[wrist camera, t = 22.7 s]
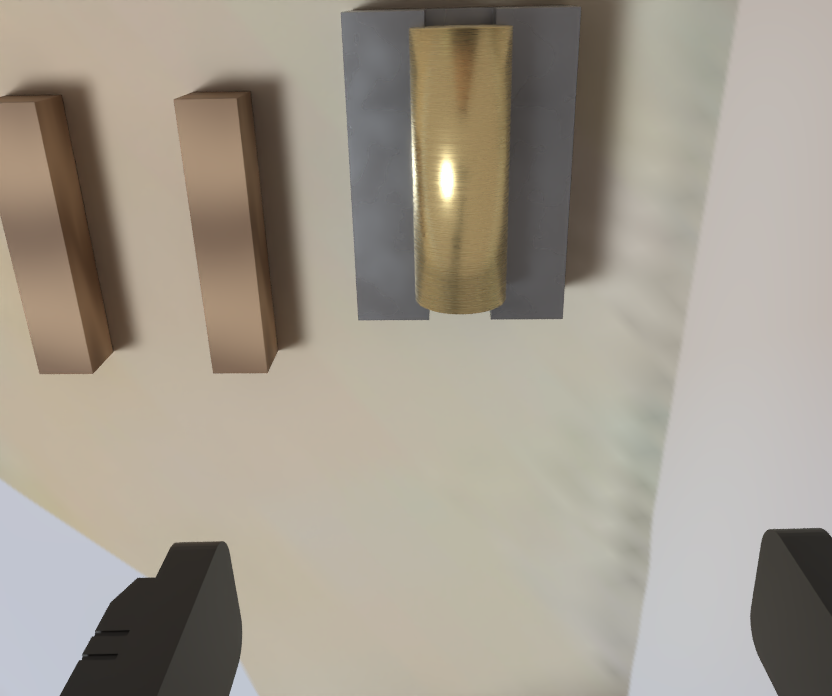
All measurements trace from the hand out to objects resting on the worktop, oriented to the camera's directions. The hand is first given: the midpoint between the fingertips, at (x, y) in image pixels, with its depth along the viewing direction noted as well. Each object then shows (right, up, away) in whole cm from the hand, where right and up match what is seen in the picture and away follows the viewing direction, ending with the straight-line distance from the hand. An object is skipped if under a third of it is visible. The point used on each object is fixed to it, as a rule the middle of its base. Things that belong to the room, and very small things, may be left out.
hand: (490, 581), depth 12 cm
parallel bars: (-13, +9, +24) cm, 29 cm away
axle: (+1, +11, +19) cm, 22 cm away
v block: (+1, +12, +22) cm, 25 cm away
